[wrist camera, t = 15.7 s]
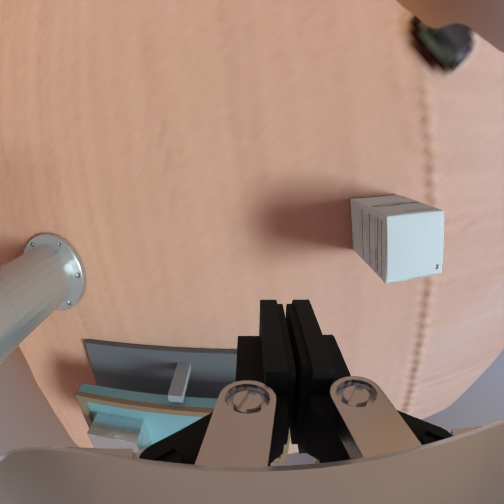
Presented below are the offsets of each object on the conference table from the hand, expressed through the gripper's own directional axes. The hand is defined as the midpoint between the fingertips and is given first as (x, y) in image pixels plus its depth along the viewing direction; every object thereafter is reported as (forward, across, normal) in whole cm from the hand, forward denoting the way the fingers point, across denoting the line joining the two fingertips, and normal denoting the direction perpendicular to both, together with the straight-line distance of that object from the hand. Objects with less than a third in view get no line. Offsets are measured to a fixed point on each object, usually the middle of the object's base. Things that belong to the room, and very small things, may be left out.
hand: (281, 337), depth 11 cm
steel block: (+22, +20, +33) cm, 45 cm away
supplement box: (+31, -16, +2) cm, 35 cm away
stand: (+31, +11, +32) cm, 46 cm away
